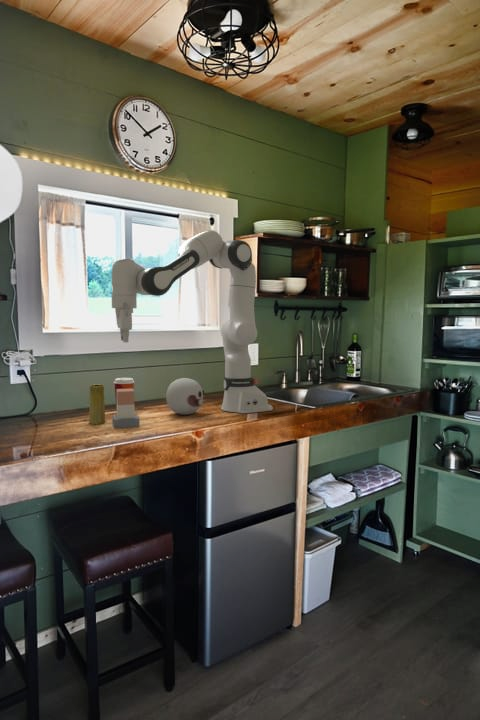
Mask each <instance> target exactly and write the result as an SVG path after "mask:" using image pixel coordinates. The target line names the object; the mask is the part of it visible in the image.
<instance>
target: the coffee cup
mask: <svg viewBox="0 0 480 720" xmlns="http://www.w3.org/2000/svg"><path fill="white" fill-rule="evenodd" d="M113 384H114V393H115V394H114V395H115V409H116V411H117V393H116V389H133V390H135V389H134V385H135V381H134V378H132V377H118V378H115V379H114V381H113Z"/></svg>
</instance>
